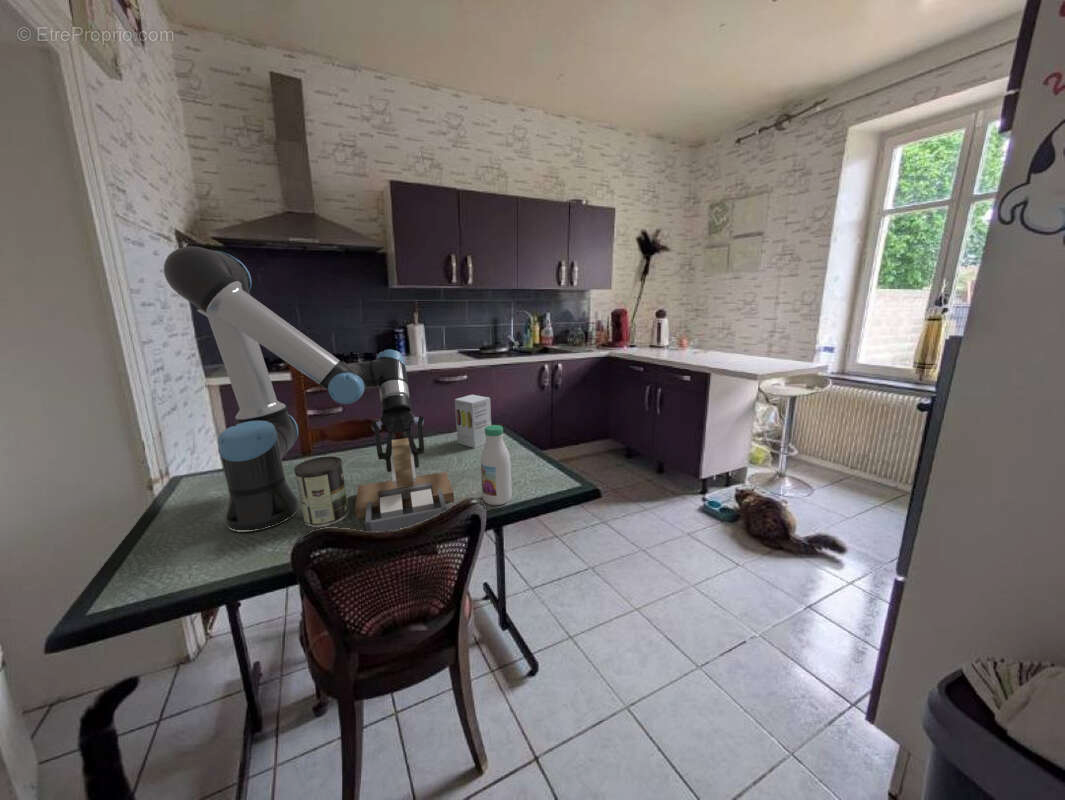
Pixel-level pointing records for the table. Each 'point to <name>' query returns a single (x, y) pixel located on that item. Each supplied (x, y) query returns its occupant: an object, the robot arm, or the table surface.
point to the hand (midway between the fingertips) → (404, 481)
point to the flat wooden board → (371, 490)
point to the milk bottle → (495, 468)
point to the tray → (401, 516)
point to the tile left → (391, 506)
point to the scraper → (403, 472)
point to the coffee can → (322, 491)
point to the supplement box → (472, 419)
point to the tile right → (422, 500)
